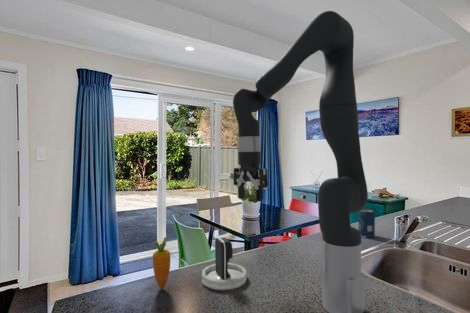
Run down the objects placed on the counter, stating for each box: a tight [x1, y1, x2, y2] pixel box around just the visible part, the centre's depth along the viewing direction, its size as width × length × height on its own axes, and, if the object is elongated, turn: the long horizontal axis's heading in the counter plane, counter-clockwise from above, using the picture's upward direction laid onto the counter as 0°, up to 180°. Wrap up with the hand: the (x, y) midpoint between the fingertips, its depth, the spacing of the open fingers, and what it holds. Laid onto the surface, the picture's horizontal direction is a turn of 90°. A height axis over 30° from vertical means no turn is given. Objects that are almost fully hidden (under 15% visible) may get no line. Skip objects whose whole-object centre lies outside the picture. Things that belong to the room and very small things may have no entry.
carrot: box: [152, 236, 171, 290], centre depth 83 cm, size 5×5×15 cm
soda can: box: [358, 208, 376, 238], centre depth 133 cm, size 7×7×12 cm
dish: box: [201, 262, 248, 291], centre depth 89 cm, size 14×14×2 cm
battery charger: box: [214, 237, 234, 279], centre depth 89 cm, size 7×4×11 cm, turn 23°
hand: (250, 199), depth 94 cm, fingers open, 8 cm apart
